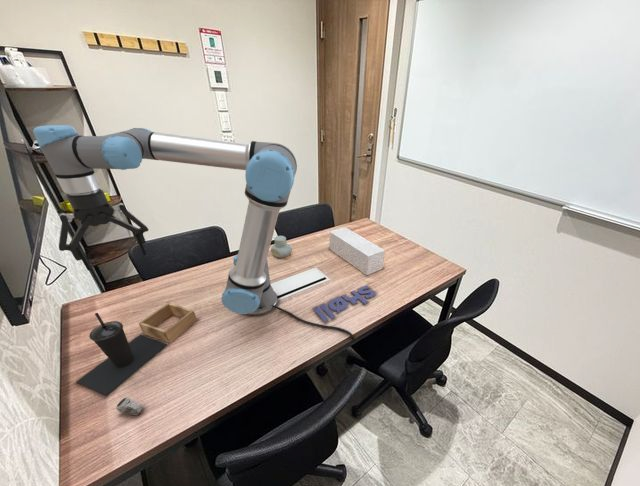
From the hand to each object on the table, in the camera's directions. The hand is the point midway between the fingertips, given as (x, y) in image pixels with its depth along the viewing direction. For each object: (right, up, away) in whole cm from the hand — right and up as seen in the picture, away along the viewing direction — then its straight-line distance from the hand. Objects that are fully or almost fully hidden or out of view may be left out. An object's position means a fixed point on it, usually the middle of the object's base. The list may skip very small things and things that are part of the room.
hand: (118, 260), depth 85 cm
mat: (-1, -32, +4) cm, 33 cm away
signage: (+69, -17, +34) cm, 78 cm away
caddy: (+5, -24, +18) cm, 30 cm away
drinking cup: (-1, -32, +4) cm, 32 cm away
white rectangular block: (+72, +3, +65) cm, 97 cm away
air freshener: (+33, +4, +65) cm, 73 cm away
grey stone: (+12, -42, -9) cm, 44 cm away
